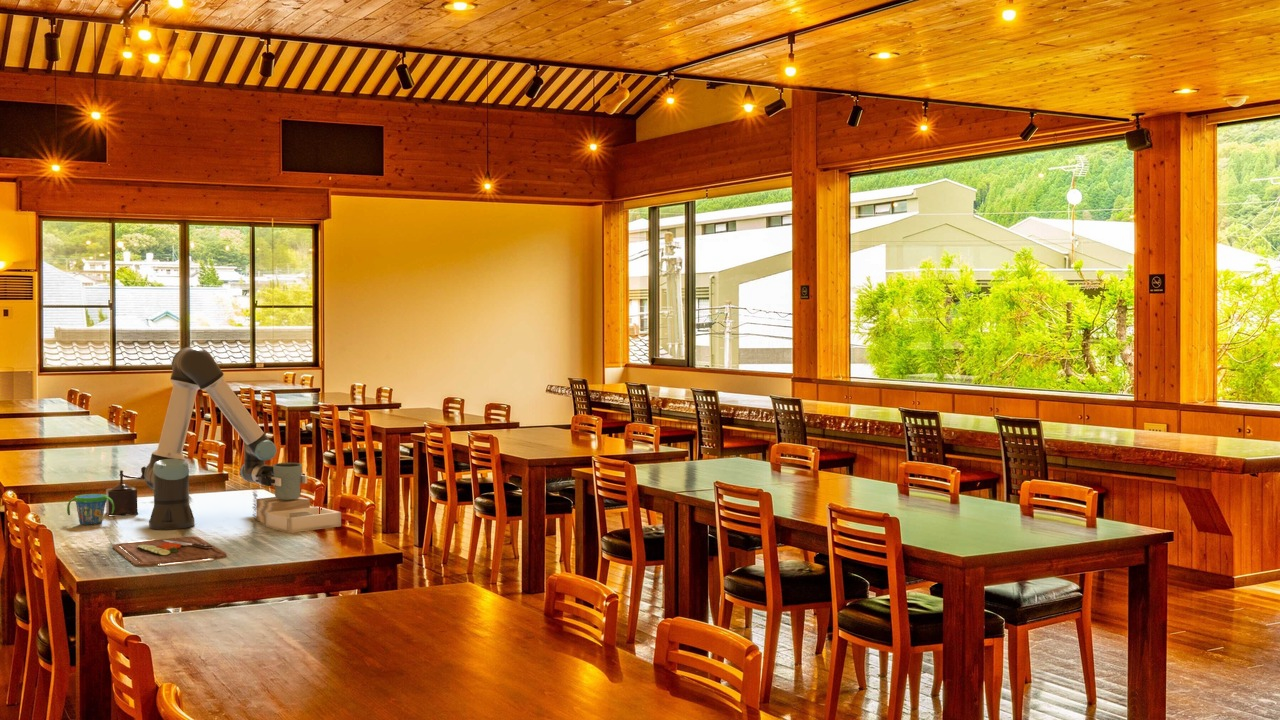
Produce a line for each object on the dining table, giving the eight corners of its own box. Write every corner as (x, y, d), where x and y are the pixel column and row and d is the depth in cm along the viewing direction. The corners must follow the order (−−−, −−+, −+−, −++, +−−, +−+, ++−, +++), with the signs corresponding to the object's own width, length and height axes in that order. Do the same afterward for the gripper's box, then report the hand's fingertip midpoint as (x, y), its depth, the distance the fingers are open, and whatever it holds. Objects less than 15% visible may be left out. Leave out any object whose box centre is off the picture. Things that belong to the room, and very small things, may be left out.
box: (265, 526, 424) (265, 512, 424) (317, 520, 438) (317, 506, 438) (288, 533, 411) (288, 518, 411) (341, 526, 424) (341, 512, 424)
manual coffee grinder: (108, 516, 447) (107, 469, 446) (105, 512, 456) (104, 465, 456) (152, 513, 454) (152, 466, 454) (149, 509, 464) (148, 463, 463)
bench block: (256, 520, 437) (256, 499, 436) (292, 516, 446) (292, 495, 446) (273, 525, 426) (273, 503, 426) (309, 521, 436) (309, 499, 435)
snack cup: (118, 520, 438) (117, 493, 437) (109, 525, 427) (108, 497, 427) (73, 521, 435) (72, 494, 435) (63, 526, 425) (62, 498, 425)
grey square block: (296, 515, 419) (296, 526, 419) (312, 513, 423) (312, 524, 423) (289, 513, 424) (289, 524, 424) (305, 511, 427) (305, 522, 428)
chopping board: (109, 547, 389) (109, 537, 389) (194, 538, 404) (194, 529, 404) (138, 570, 352) (138, 560, 352) (231, 560, 367) (231, 550, 367)
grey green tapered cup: (292, 500, 427) (293, 467, 426) (267, 498, 430) (267, 465, 429) (306, 495, 437) (307, 463, 436) (281, 493, 439) (282, 461, 439)
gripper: (293, 482, 454) (321, 488, 437) (237, 488, 439) (264, 494, 422) (293, 462, 453) (321, 468, 437) (237, 467, 439) (264, 473, 422)
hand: (293, 481), depth 429 cm, fingers closed on grey green tapered cup, 9 cm apart
